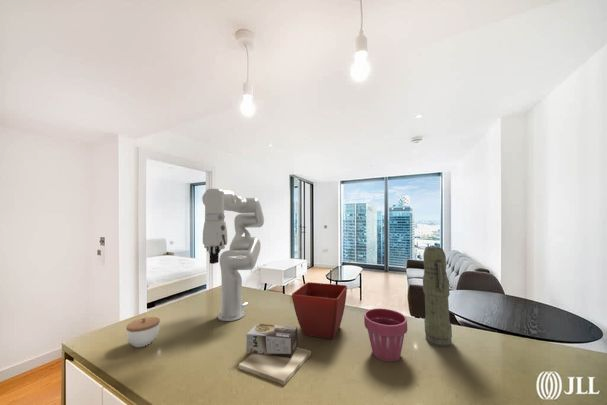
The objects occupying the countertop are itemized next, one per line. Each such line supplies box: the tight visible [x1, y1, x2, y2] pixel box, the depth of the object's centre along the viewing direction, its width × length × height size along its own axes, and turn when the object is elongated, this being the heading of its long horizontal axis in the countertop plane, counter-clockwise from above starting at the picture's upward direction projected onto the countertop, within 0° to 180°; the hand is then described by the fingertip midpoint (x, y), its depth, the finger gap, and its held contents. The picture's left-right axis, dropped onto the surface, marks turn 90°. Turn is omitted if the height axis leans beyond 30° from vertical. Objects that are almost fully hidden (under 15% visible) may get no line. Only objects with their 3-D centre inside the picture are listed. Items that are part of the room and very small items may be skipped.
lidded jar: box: [125, 316, 161, 348], centre depth 92 cm, size 11×11×9 cm
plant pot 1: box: [291, 281, 348, 340], centre depth 101 cm, size 19×19×17 cm
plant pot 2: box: [363, 307, 408, 362], centre depth 82 cm, size 14×14×13 cm
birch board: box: [238, 346, 312, 386], centre depth 79 cm, size 17×17×1 cm
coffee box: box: [245, 323, 299, 358], centre depth 84 cm, size 9×6×16 cm
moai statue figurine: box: [422, 246, 453, 348], centre depth 92 cm, size 9×12×35 cm
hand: (214, 262), depth 98 cm, fingers closed
